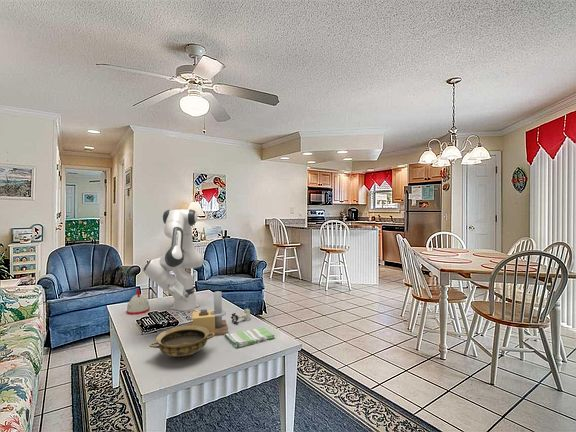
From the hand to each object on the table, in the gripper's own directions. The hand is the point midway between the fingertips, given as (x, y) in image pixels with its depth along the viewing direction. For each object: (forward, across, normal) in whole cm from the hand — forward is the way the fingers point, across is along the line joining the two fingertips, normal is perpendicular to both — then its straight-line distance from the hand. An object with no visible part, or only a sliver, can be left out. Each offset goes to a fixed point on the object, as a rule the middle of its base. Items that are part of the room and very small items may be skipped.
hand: (187, 298), depth 177 cm
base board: (+21, 0, +6) cm, 22 cm away
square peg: (+19, 0, +6) cm, 20 cm away
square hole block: (+21, 0, +4) cm, 21 cm away
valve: (+36, +7, -9) cm, 38 cm away
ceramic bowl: (+12, -28, +15) cm, 34 cm away
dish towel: (+37, -19, -9) cm, 42 cm away
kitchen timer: (-10, +48, +38) cm, 62 cm away
